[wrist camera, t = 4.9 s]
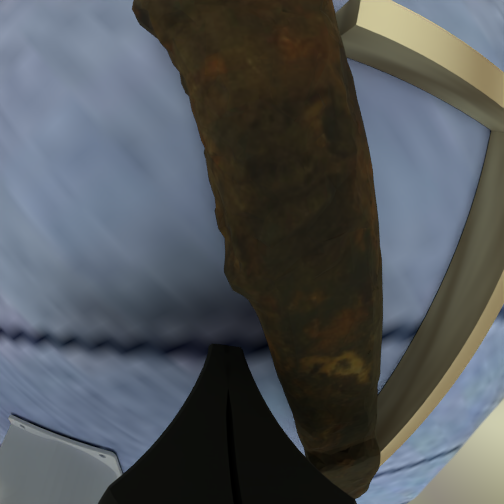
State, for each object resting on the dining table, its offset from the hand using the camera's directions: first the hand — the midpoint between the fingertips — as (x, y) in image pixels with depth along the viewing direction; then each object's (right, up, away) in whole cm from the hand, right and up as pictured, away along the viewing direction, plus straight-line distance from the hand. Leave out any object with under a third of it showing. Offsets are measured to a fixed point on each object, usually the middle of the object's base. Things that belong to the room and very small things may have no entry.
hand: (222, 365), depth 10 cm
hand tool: (+4, +2, +2) cm, 5 cm away
